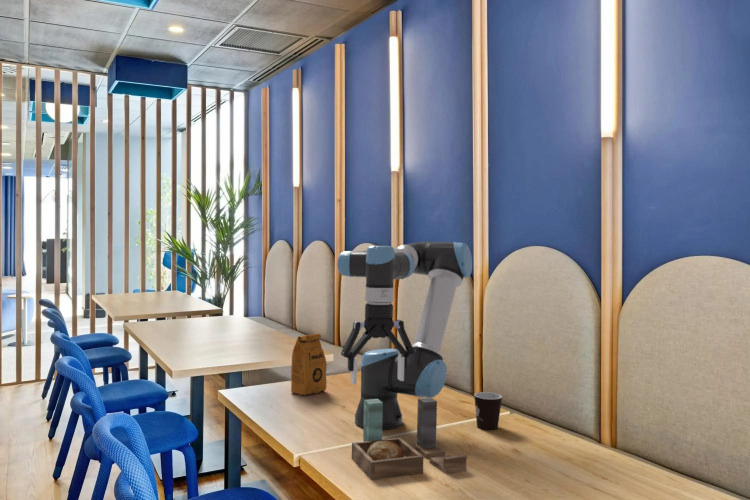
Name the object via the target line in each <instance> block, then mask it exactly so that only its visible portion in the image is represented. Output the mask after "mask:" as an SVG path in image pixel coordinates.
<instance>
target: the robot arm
mask: <svg viewBox="0 0 750 500" xmlns="http://www.w3.org/2000/svg"><path fill="white" fill-rule="evenodd" d="M472 257H473V256H472V253H471V250H470V247H469V246H468V244H466V243H464V242H457V241H453V242H451V241H450V242H449V241H419V242H414V243H413V242H412V243H408V244H401V245H399V246H398V247H396V248H394V246H391V245H369V246H368V247H367V249H366V250H359V251H358V250H355V251H354V250H344V251H342V252H341V253H340V254H339V255H338V258H337V260H336V261H337V264H336V265H337V270H338V273H339V274H340V275H341V276H344V277H349V278H351V277H353V278H365V297H364V298H365V302H367V303H366V304H365V305H364V306H365V307H364V321H363V322H362V321H357V320H354V321H353V324H352V330H351V332H350V333H349V336H348V338H347V339H346V342H345V344H344V346H343V347H342V350H341V352H340V355H341V356H343V357H344V358H346V359H347V370H348V371H349V372H350V383H352V384H353V385H357V381H358V380H357V377H358V375H357V374H358V359H357V358H356V357H357V356H358V354H359V353H360V352H361V350H362V349H363V348H364V346H365V345H366V344H367V343H368V342H369V341H370V340H371V339H372V338H373V339H378V338H382V339H384V338H386V337H387V338H388V340H389V341H390V342H391V344H392V345H393V346H394V347H395V348H379V349H372V350H368V351H366V352H364V353H363V354H362V356H361V363H360V400H359V403H358V405H357V407H356V411H355V413H354V423H355V425H357V426H358V427H360V428H363V427H364V400H370V399H378V400H380V401H381V402H383V415H382V430H390V429H391V430H392V429H396V428H398V427H400V426H402V425H403V413H402V411H401V407H400V404H399V399H398V394H401V395H405V396H407V395H408V396H413V397H417V398H432V399H434V398H435V397H436V396H439V394H440V393H441V391H442V389H443V387H444V385H445V383H446V380H447V379H446V378H447V364H446V362H445V361H444V357H443V355H442V354H441V348H442V345H443V342H444V337H445V333H446V329H447V325H448V321H449V317H450V313H451V310H452V305H453V302H454V301H453V300H454V298H455V293H456V290H457V288H458V287H460V286H461V285H462V284H463V281H464V279H466V278H469V277H470V276H471V275H472V271H473V258H472ZM413 274H416V275H422V276H427V277H428V278H429V280H430V283H429V287H428V290H427V295H426V299H425V300H424V301H425V302H424V304H423V309H422V312H421V316H420V320H419V323H418V328H417V330H416V334H415V338H414V342H413V344H412V343H411V341H410V338H409V336H408V334H407V331H406V329H405V322H404V321H403V320H401V319H397V320H393V319H394V318H393V317H394V305H393V302H394V281H395V280H403V279H407V278H409V277H410V276H412V275H413ZM363 328H364V330H365V331H364V332H363V333H362V335H361V337H360V338H359V339H358V341H357V342H356V340H357V338H358V335H359V334H360V331H362V329H363ZM393 328H395V329H397V332H398V334H399V337H400V339H401V341H402V344H403V345H402V344H401V342H399V340H398V338H397V337H396V336H395V334H394V333H393V332H392V329H393ZM355 342H356V343H355ZM354 344H355V345H354ZM399 354H400V355H399Z"/></svg>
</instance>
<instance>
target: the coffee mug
mask: <svg viewBox="0 0 750 500" xmlns="http://www.w3.org/2000/svg"><path fill="white" fill-rule="evenodd" d="M473 395H474V396H473V397H474V398H473V399H474V406H475V419H476V427H477V429H480V430H482V431H497V430H498V428H499V420H500V414H501V407H502V400H503V395H501V394H499V393H495V392H489V391H485V392H484V391H482V392H481V391H479V392H476V393H474V394H473Z"/></svg>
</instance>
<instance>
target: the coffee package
mask: <svg viewBox="0 0 750 500" xmlns="http://www.w3.org/2000/svg"><path fill="white" fill-rule="evenodd" d="M321 338H322V335H321V333H319V332H318V333H313V334H308V335H307V334H306V335H300V336H299V335H298V336H297V338H296V341H295V344H294V346H293V349H292V354H291V368H290V369H291V370H290V371H291V373H290V375H291V379H290V381H291V387H290V388H291V389H290V392H291V393H292V394H297V393H298V394H299V395H301V396H307V394H309V395H313V394H312V393H314V394H319V393H322V392H321V391H324V392H325V391H326V390H327V358H326V356H325V352H324V349H323V348H322V343H321V340H320V339H321ZM318 392H319V393H318Z"/></svg>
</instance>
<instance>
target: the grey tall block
mask: <svg viewBox="0 0 750 500" xmlns="http://www.w3.org/2000/svg"><path fill="white" fill-rule="evenodd" d="M437 412H438V401H437V400H436V399H434V398H426V397H422V398H421V397H418V398H417V422H416V428H417V429H416V443H413V446H412V448H414V449H415V450H416V451H417V452H419V453H420V454H421V455H422V456H423V458H424V459H430V458H434V457H441V456H447V455H446V454H447V452H446V451H447V450H444V449H443V448H442V447H441V446H440V445H438V444H437V415H438V413H437Z"/></svg>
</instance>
